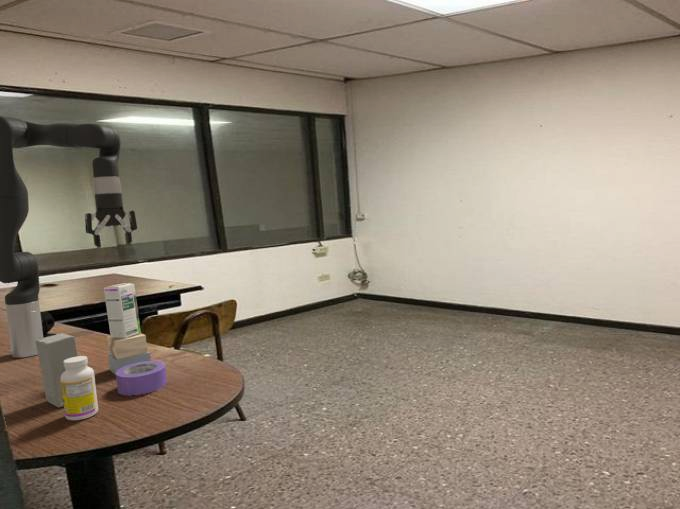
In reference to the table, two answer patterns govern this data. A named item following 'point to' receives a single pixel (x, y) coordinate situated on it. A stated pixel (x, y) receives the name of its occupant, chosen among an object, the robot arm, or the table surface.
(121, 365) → the slate slab
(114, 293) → the syrup box
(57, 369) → the skincare box
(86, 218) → the robot arm
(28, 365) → the table surface
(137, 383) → the tape roll
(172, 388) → the table surface
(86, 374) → the supplement bottle
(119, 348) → the maple block
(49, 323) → the webcam
